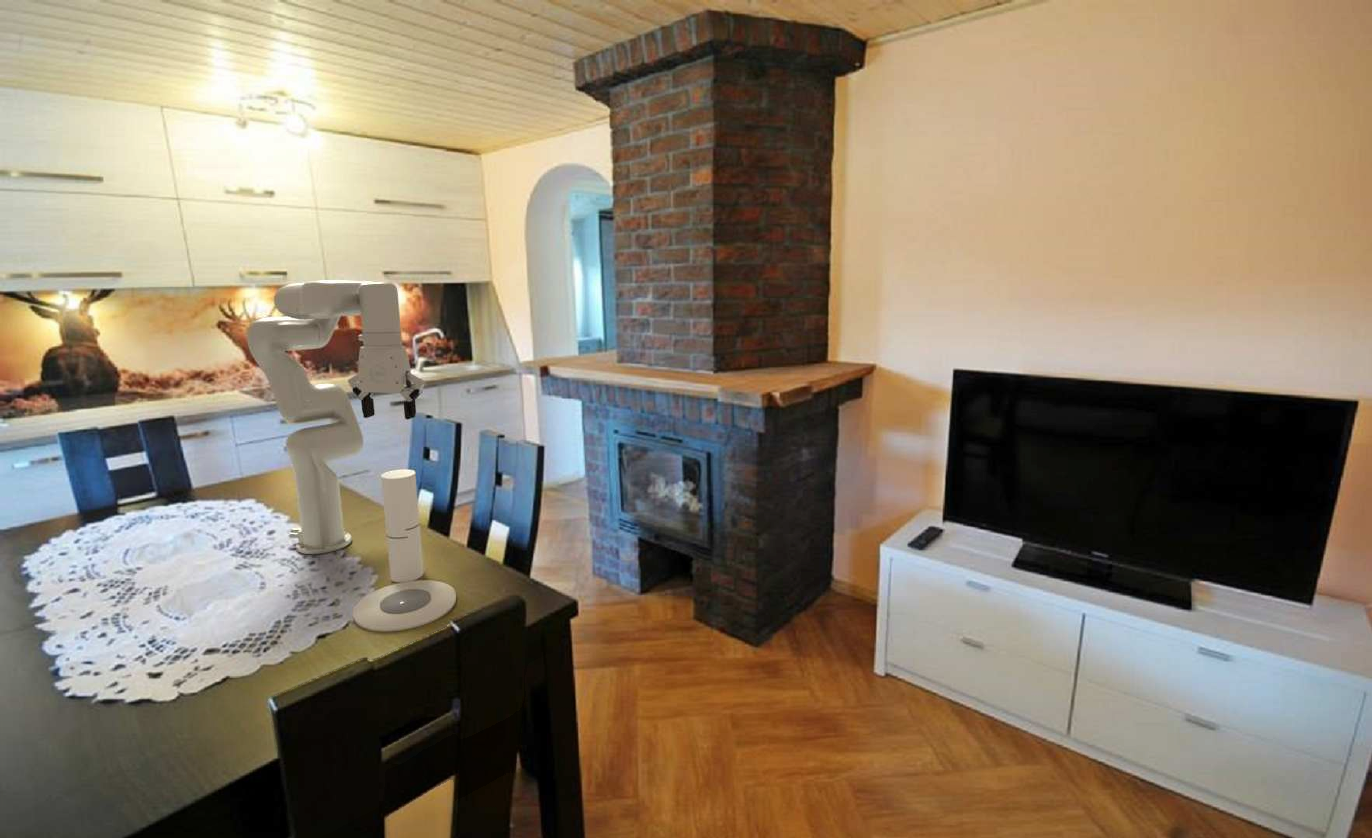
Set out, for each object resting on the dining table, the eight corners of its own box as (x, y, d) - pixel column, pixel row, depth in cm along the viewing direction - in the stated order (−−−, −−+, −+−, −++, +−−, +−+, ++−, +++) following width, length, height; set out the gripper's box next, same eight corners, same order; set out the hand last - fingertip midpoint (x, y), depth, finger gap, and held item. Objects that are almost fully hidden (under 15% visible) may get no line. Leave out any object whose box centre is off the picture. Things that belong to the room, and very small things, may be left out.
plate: (332, 629, 123) (331, 622, 123) (385, 582, 143) (385, 576, 142) (430, 633, 122) (429, 627, 122) (470, 586, 142) (470, 580, 141)
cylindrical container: (428, 575, 147) (420, 473, 141) (398, 585, 142) (388, 480, 136) (415, 565, 151) (407, 467, 146) (385, 575, 146) (375, 473, 141)
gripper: (334, 341, 132) (342, 419, 135) (411, 342, 130) (417, 422, 133) (356, 338, 139) (363, 413, 142) (429, 339, 137) (435, 415, 141)
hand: (389, 417), depth 138 cm, fingers open, 9 cm apart
